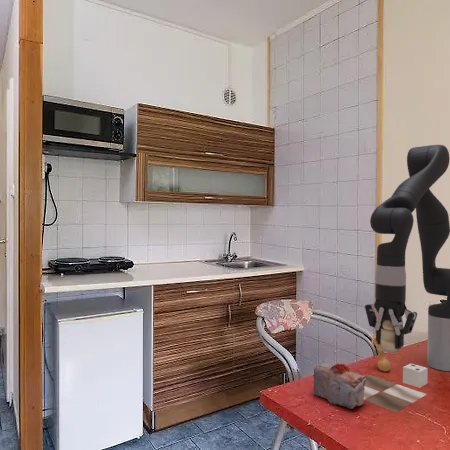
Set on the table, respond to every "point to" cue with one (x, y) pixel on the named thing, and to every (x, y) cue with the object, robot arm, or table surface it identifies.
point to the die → (415, 375)
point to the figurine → (383, 362)
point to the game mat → (388, 400)
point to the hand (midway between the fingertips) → (389, 345)
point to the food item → (339, 385)
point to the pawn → (388, 337)
